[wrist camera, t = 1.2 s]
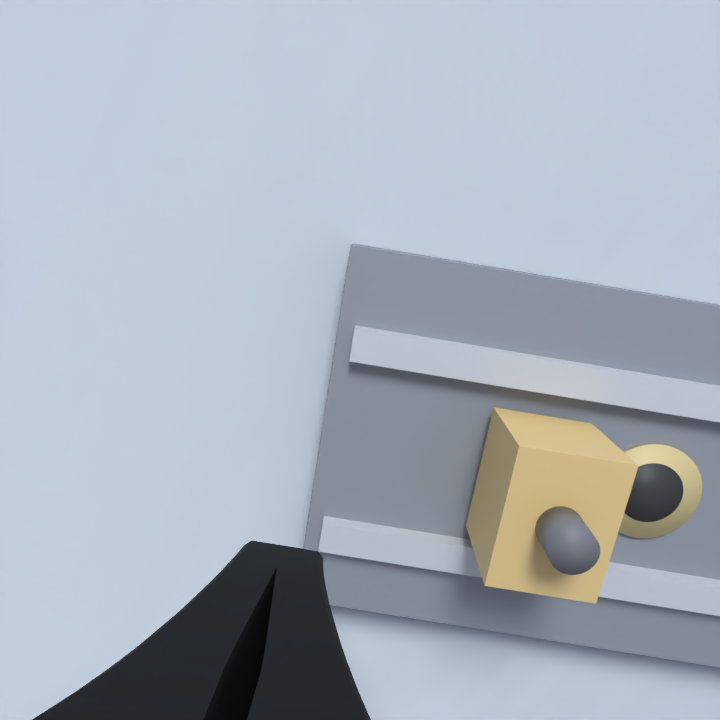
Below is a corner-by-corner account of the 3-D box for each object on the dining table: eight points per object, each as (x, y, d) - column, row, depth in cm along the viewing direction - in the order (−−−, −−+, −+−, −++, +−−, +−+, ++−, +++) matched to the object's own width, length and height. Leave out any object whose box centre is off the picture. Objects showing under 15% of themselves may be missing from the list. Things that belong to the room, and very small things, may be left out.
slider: (591, 423, 16) (661, 486, 12) (558, 540, 17) (613, 633, 13) (493, 407, 16) (531, 464, 12) (466, 525, 17) (493, 614, 13)
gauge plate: (942, 342, 17) (1201, 393, 12) (808, 653, 20) (969, 811, 15) (353, 243, 17) (342, 250, 12) (301, 572, 20) (273, 701, 14)
